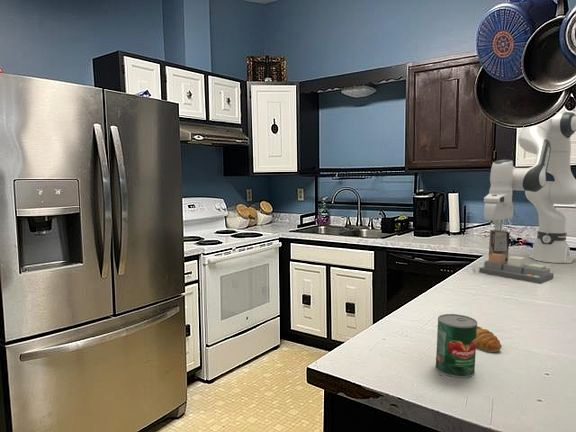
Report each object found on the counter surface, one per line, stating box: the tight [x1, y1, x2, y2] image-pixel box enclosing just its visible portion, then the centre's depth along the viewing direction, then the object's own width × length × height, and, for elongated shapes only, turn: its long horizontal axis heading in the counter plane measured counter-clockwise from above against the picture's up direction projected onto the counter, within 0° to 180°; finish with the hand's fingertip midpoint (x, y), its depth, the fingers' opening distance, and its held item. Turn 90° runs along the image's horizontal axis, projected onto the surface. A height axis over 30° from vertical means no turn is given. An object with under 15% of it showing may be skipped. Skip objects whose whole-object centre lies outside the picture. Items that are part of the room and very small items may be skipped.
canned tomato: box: [435, 313, 478, 379], centre depth 92 cm, size 8×8×11 cm
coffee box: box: [488, 229, 510, 262], centre depth 199 cm, size 9×6×16 cm
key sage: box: [527, 263, 547, 270], centre depth 173 cm, size 5×5×4 cm
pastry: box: [476, 325, 503, 353], centre depth 105 cm, size 9×7×4 cm
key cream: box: [508, 255, 526, 267], centre depth 179 cm, size 5×5×4 cm
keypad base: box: [478, 259, 555, 285], centre depth 180 cm, size 14×24×4 cm, turn 40°
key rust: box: [488, 253, 505, 264], centre depth 185 cm, size 5×5×4 cm
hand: (498, 230), depth 184 cm, fingers closed
